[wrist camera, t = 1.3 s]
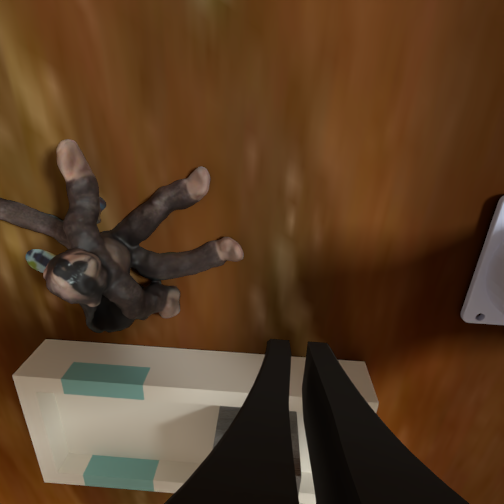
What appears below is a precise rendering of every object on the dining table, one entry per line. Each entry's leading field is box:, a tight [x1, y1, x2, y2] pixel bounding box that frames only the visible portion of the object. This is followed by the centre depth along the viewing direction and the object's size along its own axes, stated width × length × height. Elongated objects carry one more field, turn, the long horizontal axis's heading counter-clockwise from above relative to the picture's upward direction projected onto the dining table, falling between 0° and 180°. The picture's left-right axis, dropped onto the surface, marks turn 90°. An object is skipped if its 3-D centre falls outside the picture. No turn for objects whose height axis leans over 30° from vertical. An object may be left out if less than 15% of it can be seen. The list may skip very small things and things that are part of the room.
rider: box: [213, 406, 301, 496], centre depth 22 cm, size 5×5×5 cm
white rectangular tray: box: [12, 339, 379, 504], centre depth 25 cm, size 22×13×4 cm, turn 87°
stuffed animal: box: [0, 139, 244, 333], centre depth 21 cm, size 12×10×12 cm
